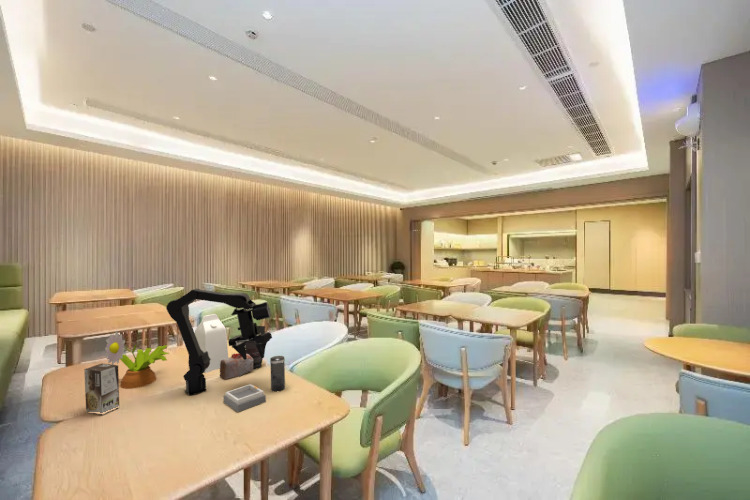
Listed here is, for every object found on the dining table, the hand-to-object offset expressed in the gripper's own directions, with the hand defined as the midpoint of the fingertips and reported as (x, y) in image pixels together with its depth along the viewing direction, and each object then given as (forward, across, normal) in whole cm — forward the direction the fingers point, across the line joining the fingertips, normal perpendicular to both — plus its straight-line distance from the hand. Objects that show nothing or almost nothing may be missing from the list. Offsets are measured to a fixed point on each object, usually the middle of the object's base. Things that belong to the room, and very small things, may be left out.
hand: (254, 358), depth 144 cm
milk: (+7, +39, -12) cm, 42 cm away
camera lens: (+11, +19, -19) cm, 29 cm away
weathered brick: (+10, +20, -8) cm, 24 cm away
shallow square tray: (+12, -4, +14) cm, 18 cm away
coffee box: (+3, +42, +35) cm, 55 cm away
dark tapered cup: (+14, -8, -1) cm, 16 cm away
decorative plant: (+3, +54, +12) cm, 55 cm away
